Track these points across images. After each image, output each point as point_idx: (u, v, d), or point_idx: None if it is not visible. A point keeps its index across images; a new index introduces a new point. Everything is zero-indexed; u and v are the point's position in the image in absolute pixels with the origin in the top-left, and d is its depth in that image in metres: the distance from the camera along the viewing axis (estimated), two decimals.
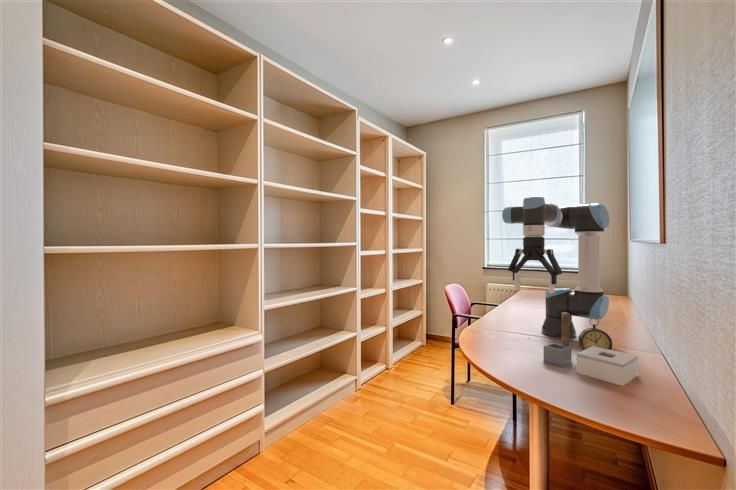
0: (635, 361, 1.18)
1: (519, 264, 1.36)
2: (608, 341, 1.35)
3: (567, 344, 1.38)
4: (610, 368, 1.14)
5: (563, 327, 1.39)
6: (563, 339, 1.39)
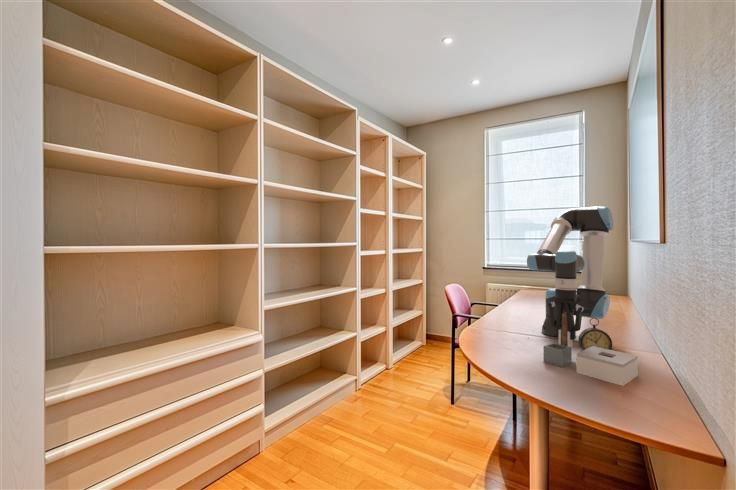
0: (635, 361, 1.18)
1: (559, 318, 1.40)
2: (608, 341, 1.35)
3: (567, 344, 1.38)
4: (610, 368, 1.14)
5: (563, 327, 1.39)
6: (563, 339, 1.39)
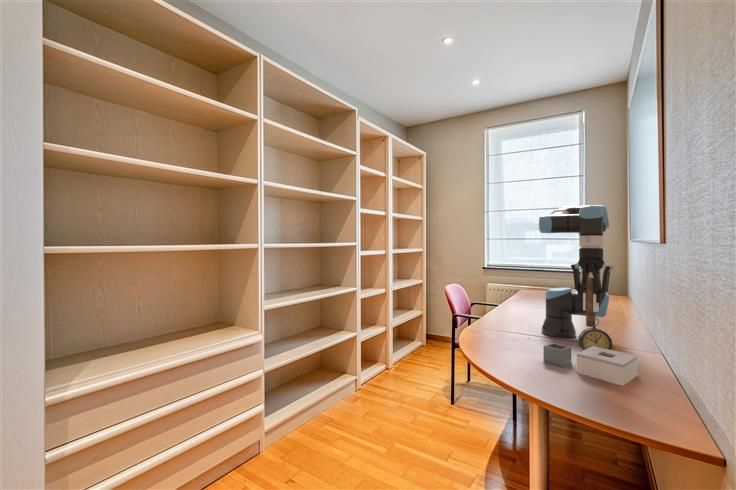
0: (635, 361, 1.18)
1: (583, 280, 1.28)
2: (608, 341, 1.35)
3: None
4: (610, 368, 1.14)
5: (588, 293, 1.26)
6: (588, 306, 1.26)
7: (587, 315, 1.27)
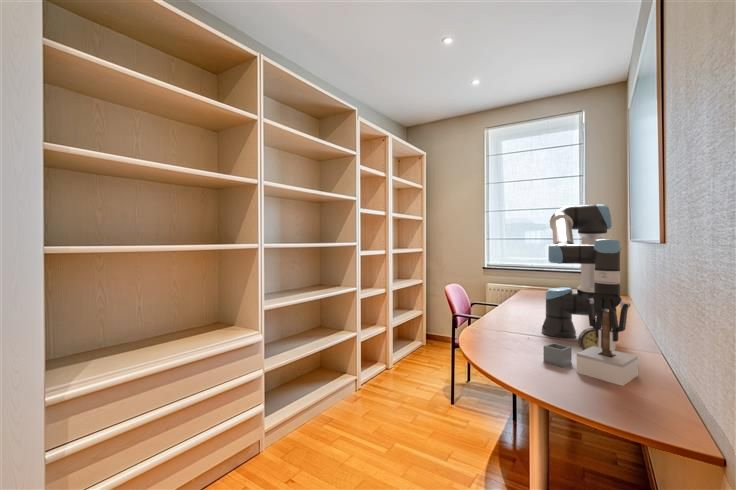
0: (635, 361, 1.18)
1: (599, 317, 1.22)
2: None
3: (609, 348, 1.20)
4: (610, 368, 1.14)
5: (604, 328, 1.20)
6: (604, 342, 1.20)
7: (603, 352, 1.21)
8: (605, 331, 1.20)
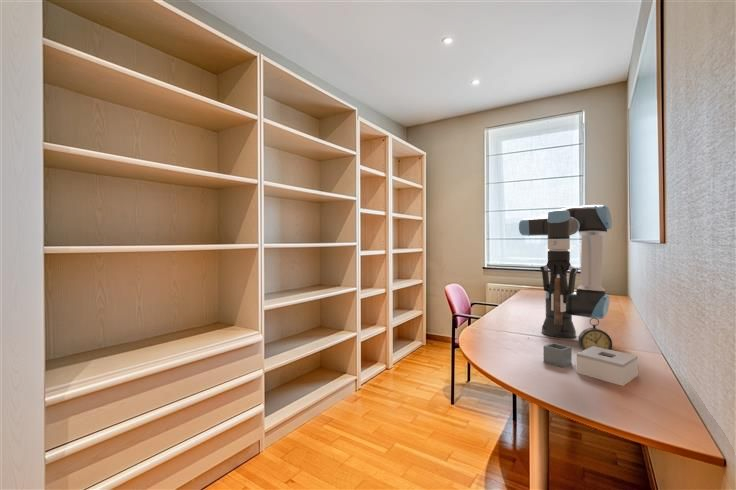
0: (635, 361, 1.18)
1: (551, 282, 1.33)
2: (608, 341, 1.35)
3: None
4: (610, 368, 1.14)
5: (556, 292, 1.32)
6: (556, 305, 1.32)
7: (555, 314, 1.33)
8: (556, 295, 1.32)
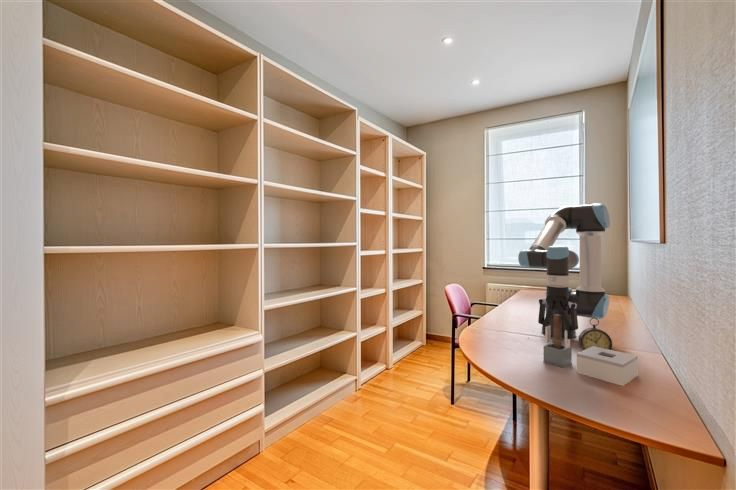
0: (635, 361, 1.18)
1: (547, 316, 1.35)
2: (608, 341, 1.35)
3: (559, 347, 1.32)
4: (610, 368, 1.14)
5: (555, 330, 1.32)
6: (555, 342, 1.32)
7: None
8: (555, 332, 1.32)
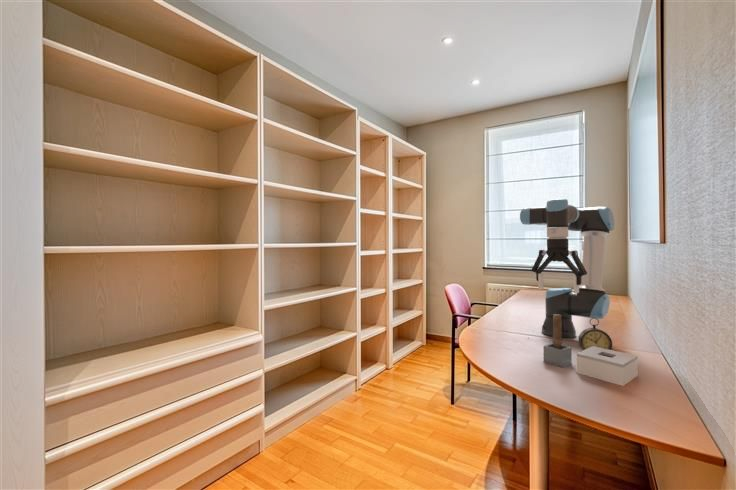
0: (635, 361, 1.18)
1: (543, 265, 1.40)
2: (608, 341, 1.35)
3: (559, 347, 1.32)
4: (610, 368, 1.14)
5: (555, 330, 1.32)
6: (555, 342, 1.32)
7: None
8: (555, 332, 1.32)
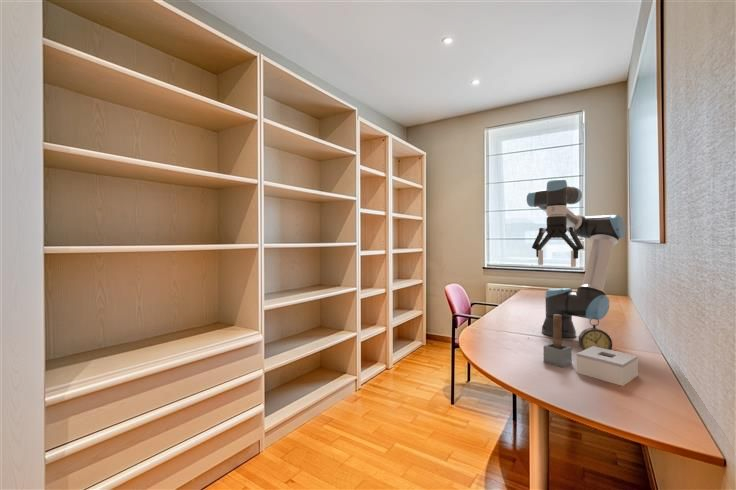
0: (635, 361, 1.18)
1: (542, 242, 1.50)
2: (608, 341, 1.35)
3: (559, 347, 1.32)
4: (610, 368, 1.14)
5: (555, 330, 1.32)
6: (555, 342, 1.32)
7: None
8: (555, 332, 1.32)
